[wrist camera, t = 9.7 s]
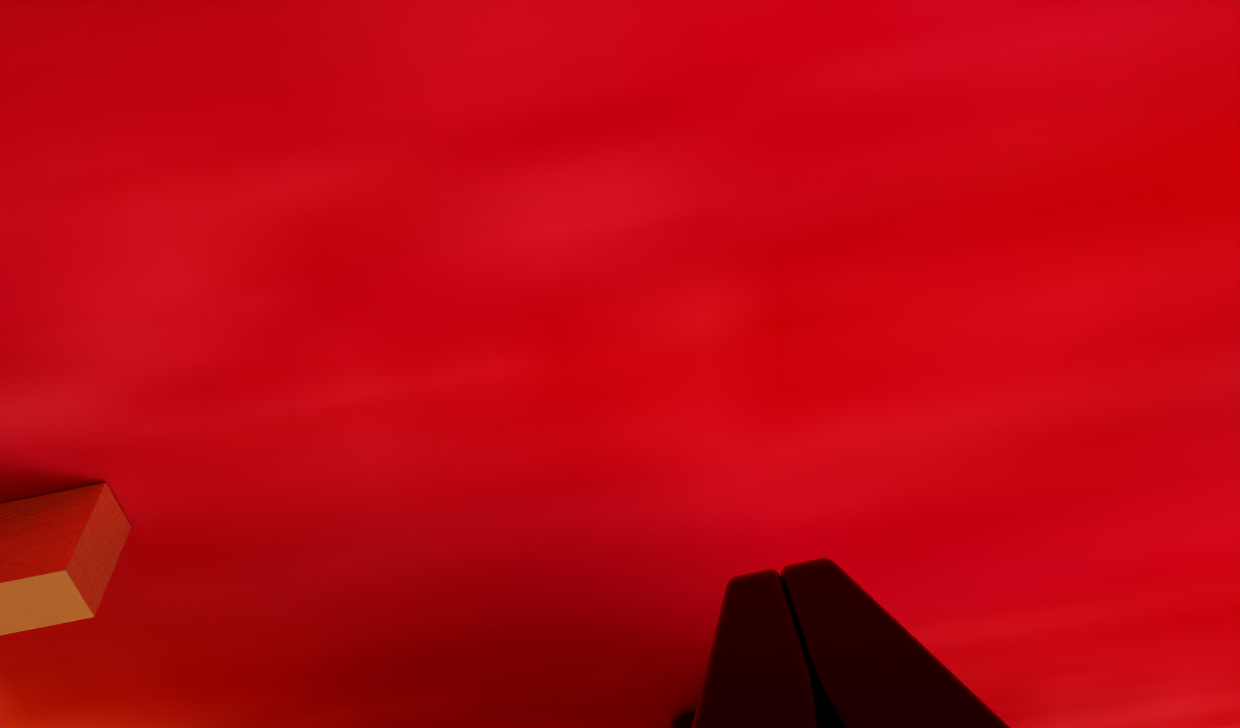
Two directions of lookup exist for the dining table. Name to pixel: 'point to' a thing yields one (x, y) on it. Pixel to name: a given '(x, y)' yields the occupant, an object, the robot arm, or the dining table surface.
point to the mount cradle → (57, 556)
